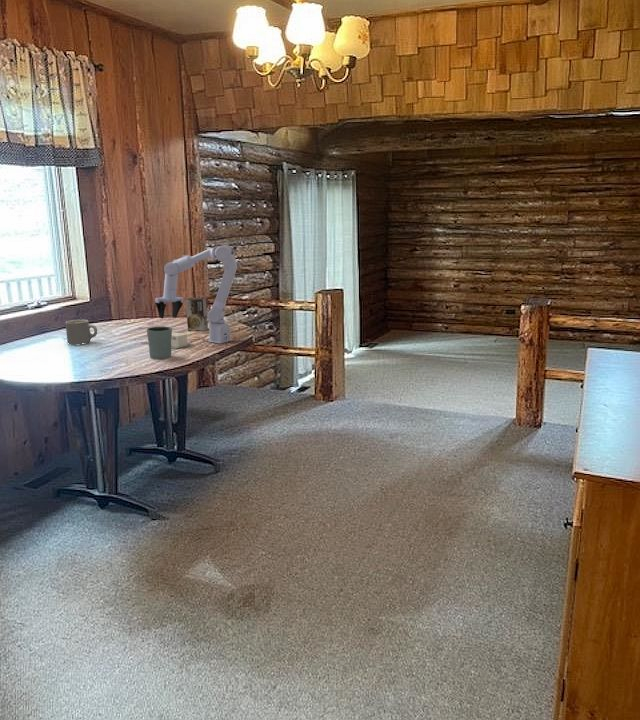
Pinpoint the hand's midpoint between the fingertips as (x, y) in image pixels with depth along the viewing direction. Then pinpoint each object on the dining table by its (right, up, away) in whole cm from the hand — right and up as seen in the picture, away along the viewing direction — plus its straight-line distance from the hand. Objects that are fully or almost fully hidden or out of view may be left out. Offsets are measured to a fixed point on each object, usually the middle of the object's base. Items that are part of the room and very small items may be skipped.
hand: (167, 317), depth 293 cm
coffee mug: (-40, -12, +1) cm, 41 cm away
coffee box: (+8, -5, +30) cm, 31 cm away
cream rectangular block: (+5, -13, -8) cm, 16 cm away
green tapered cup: (+4, -19, -29) cm, 35 cm away
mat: (+1, -12, -4) cm, 13 cm away
